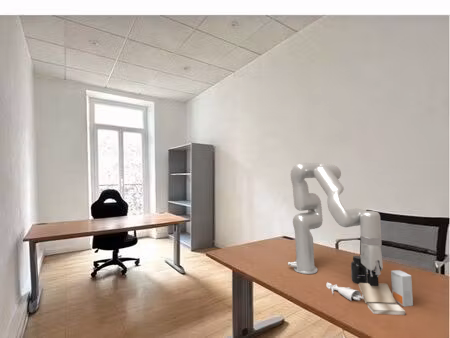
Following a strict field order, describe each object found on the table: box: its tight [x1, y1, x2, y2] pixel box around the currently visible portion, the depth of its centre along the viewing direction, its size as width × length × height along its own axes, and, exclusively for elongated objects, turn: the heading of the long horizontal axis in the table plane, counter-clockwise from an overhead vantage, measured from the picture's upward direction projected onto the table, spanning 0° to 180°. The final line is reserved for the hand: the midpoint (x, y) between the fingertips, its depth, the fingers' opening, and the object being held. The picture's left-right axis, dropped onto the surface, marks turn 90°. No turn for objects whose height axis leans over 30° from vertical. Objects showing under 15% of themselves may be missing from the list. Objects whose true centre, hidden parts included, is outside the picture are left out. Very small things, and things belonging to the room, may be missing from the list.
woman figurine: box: [325, 281, 364, 302], centre depth 107 cm, size 12×4×18 cm
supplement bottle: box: [350, 255, 368, 285], centre depth 119 cm, size 7×7×12 cm
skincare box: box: [390, 269, 414, 308], centre depth 99 cm, size 6×4×12 cm
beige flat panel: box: [358, 282, 397, 305], centre depth 100 cm, size 11×8×1 cm
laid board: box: [367, 303, 406, 316], centre depth 93 cm, size 11×5×2 cm, turn 82°
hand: (372, 284), depth 102 cm, fingers closed
